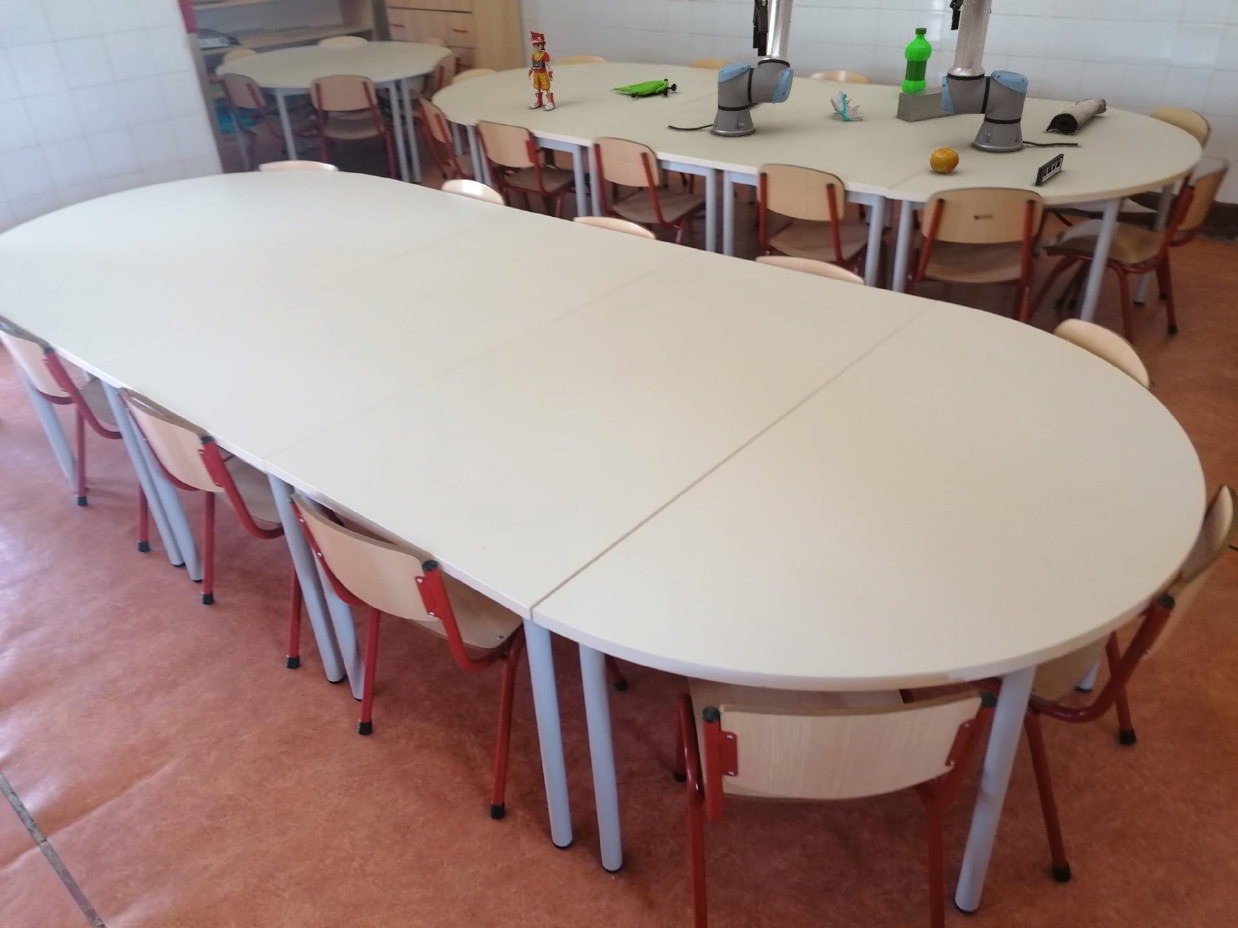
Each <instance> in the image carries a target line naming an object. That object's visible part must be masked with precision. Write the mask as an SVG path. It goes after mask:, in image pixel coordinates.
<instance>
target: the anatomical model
mask: <svg viewBox="0 0 1238 928" xmlns="http://www.w3.org/2000/svg"><path fill="white" fill-rule="evenodd" d="M847 97H848V95H847V92H845V91H844V90H842V89H841V90H839V93H837V95H833V96H831V97H830V103H831V106H832V107H833V110H834V111H835V112H836V113H839V114H840V115H841V117H842V119H843V120H844V121H851V120H856V119H857V120H858V119H860V120H861V119H863V118H864V115H863V114H859V113H858V110H859V108H860V106H861V104H856V105H854V106H850V105H849V104H850V102H851V101H852V98H848V99H847Z"/></svg>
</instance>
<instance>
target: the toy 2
mask: <svg viewBox="0 0 1238 928" xmlns="http://www.w3.org/2000/svg"><path fill="white" fill-rule="evenodd" d="M669 85H670V83H669V79H668V78H664V79H663V80H649V81H644V82H640V83H634V84H629V85H627V86H621V87H613V88H612V89H613V90H616V91H619V92H623V93H627V94H628V93H629V94H631V95H630V96H631V98H632V99H634V98H636V96H637V95H650V94H652V93H654V94H658V93H662V95H663V96H665V97H667V96H668V95H669V90H671V91H672V92H676V91H677V84H676V83H672V84H671V86H669Z"/></svg>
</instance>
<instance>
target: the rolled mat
mask: <svg viewBox="0 0 1238 928" xmlns="http://www.w3.org/2000/svg"><path fill="white" fill-rule="evenodd" d="M1107 110H1108V109H1107V101H1106V99H1105V98H1098V97H1091V98H1087V99H1079V100H1078V101H1076V102H1075V104H1074V105H1072V106H1071V107H1068V108H1067V109H1065V110H1063V111H1061V112H1059V113H1058V114H1056V115H1054V116H1053V117H1052V119H1050V122H1049V124H1048V126H1047V127H1046V129H1045V132H1049V131H1051V130H1057V131H1058V132H1059V133H1062V134H1065V135H1066V134H1067V135H1073V134H1074V133H1076V132H1077V131H1078V130H1079V129H1080V128H1081V127H1082V126H1083V125H1084V124H1085V123H1086V122H1087V121H1088V120H1089V119H1091V118H1092V117H1094V116H1096V115H1102V114H1104V113H1106V112H1107Z"/></svg>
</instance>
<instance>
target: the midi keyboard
mask: <svg viewBox="0 0 1238 928" xmlns="http://www.w3.org/2000/svg"><path fill="white" fill-rule="evenodd" d="M1064 157H1065V153H1059V154H1058V155H1056V156H1055V157H1052V159H1051V160H1049V161H1047V162H1045V164H1042V165H1041V166H1039V167H1038V169H1037V175H1036V179H1035V186H1040V185H1042V183H1044V182H1045V181H1047V180H1048V179H1049V178H1051V177H1052V176H1054V175H1055V174H1056V173H1058V172H1060V171H1061V170H1062V165H1063V161H1064Z"/></svg>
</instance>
